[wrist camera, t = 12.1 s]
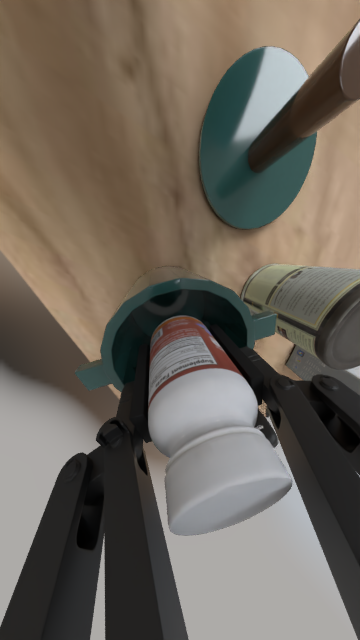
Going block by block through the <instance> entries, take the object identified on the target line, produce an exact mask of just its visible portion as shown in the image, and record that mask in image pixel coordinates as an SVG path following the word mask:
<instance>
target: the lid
mask: <svg viewBox="0 0 360 640" xmlns="http://www.w3.org/2000/svg"><path fill="white" fill-rule="evenodd" d="M359 99H360V19H359V20H358V21H357V23H356V24H355V25H354V26H353V27H352V28H351V29H350V31H349V32H348V33H347V34H346V35H345V36H344V37H343V38H342V40H341V41H340V42H339V43H338V44H337V45H336V46H335V48H334V49H333V50H332V51H331V52H330V53H329V54H328V56H327V57H326V58H325V59H324V60H323V61H322V62H321V64H320V65H319V66H318V67H317V68H316V69H315V70H314V72H313V73H312V74H311V75H310V76H308V74H307V72H306V70H305V69H304V67H303V65H302V64H301V63H300V62H299V60H298V59H297V58H296V57H295V56H293V55H292V54H291V53H290V52H288V51H286V50H284V49H282V48H278V47H274V46H264V47H260V48H256V49H253V50H252V51H250V52H248V53H246V54H244V55H243V56H242V57H241V58H239V59H238V60H237V61H236V62H235V63H234V64H233V65H232V66H231V67H230V68H229V69H228V70H227V72H226V73H225V74H224V76H223V77H222V79H221V80H220V82H219V84H218V85H217V87H216V89H215V91H214V93H213V95H212V98H211V100H210V103H209V105H208V108H207V111H206V114H205V117H204V121H203V125H202V130H201V135H200V144H199V168H200V176H201V182H202V185H203V189H204V192H205V195H206V198H207V200H208V202H209V204H210V206H211V207H212V209H213V210H214V212H215V213H216V214H217V215H218V217H219V218H220V219H221V220H223V221H224V222H225V223H227V224H228V225H230V226H232V227H235V228H238V229H255V228H259V227H262V226H264V225H266V224H268V223H270V222H272V221H273V220H275V219H276V218H277V217H279V216H280V215H281V214H282V213H283V212H284V211H285V210H286V209H287V208H288V207H289V205H290V204H291V203H292V202H293V200H294V199H295V197H296V196H297V194H298V193H299V191H300V189H301V187H302V185H303V183H304V181H305V179H306V176H307V174H308V171H309V168H310V166H311V162H312V158H313V155H314V150H315V145H316V137H317V131H318V130H320V129H321V128H322V127H324V126H325V125H326V124H328V123H329V122H330V121H332V120H333V119H334V118H335V117H337V116H338V115H339V114H341V113H342V112H343V111H345V110H346V109H347V108H349V107H350V106H351V105H353V104H354V103H355V102H357V101H358V100H359Z"/></svg>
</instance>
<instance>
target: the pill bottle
mask: <svg viewBox="0 0 360 640" xmlns="http://www.w3.org/2000/svg"><path fill="white" fill-rule="evenodd" d="M257 417H258V403H257V400H256V396H255V394H254V392H253V390H252V389H251V387H250V386H249V384H248V383H247V381H246V380H245V378H244V377H243V376H242V374H241V373H240V371H239V370H238V369H237V368H236V366H235V365H234V364H233V362H232V361H231V360H230V358H229V357H228V356H227V354H226V353H225V352H224V350H223V349H222V347H221V346H220V345H219V344H218V342H217V341H216V340H215V338H214V337H213V336H212V334H211V333H210V332H209V330H208V329H207V328H206V326H205V325H204V324H203V323H202V322H201V321H199V320H198V319H196V318H194V317H191V316H186V315H180V316H175V317H171V318H169V319H167V320H165V321H163V322H162V323H161V324H160V325H159V326H158V327H157V328H156V329H155V331H154V332H153V335H152V338H151V343H150V365H149V400H148V428H149V433H150V437H151V439H152V441H153V443H154V445H155V446H156V448H157V449H158V450H159V451H160V452H161V453H162V454H164V455H166V456H167V457H169V458H170V459H169V461H168V463H167V465H166V476H165V489H166V502H167V515H168V525H169V529H170V531H171V532H172V533H174V534H176V535H184V536H188V535H199V534H204V533H208V532H212V531H216V530H219V529H223V528H226V527H229V526H232V525H235V524H237V523H239V522H242V521H244V520H247V519H249V518H250V517H252V516H254V515H256V514H258V513H260V512H262V511H264V510H265V509H267V508H269V507H270V506H272V505H273V504H275V503H276V502H277V501H279V500H280V499H281V498H282V497H283V496H285V495H286V494H287V492H288V491H289V490H290V489H291V487H292V479H291V477H290V475H289V473H288V472H287V470H286V468H285V467H284V465H283V463H282V461H281V460H280V458H279V457H278V455H277V453H276V451H275V450H274V448H273V446H272V445H271V443H270V442H269V440H267V439H266V438H265V436H264V434H263V433H262V432H261V431H260V430H258V429H256V428H254V426H255V424H256V421H257Z"/></svg>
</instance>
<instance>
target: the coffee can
mask: <svg viewBox="0 0 360 640" xmlns="http://www.w3.org/2000/svg"><path fill="white" fill-rule="evenodd" d="M241 300H242V301H243V302H244V303H245V304H246V305H247V306H248V307H249V310H250V313H251V315H255V314H258V313H262V312H265V311H269V310H270V311H272V312H274V313H276V314H277V317H276V326H275V332H276V333H278V334H280V335H281V336H283V337H285V338H286V339H288V340H289V341H291V342H293V343H294V344H296V345H297V346H299V347H301V348H302V349H304V350H306V351H307V352H309V353H310V354H312V355H314V356H315V357H317V358H318V359H320V360H321V361H322V362H323V363H324V364H326V365H327V366H328V367H330V368H332V369H336V370H348V369H352V368H355V367H358V366H360V270H359V269H344V268H329V267H314V266H297V265H282V264H269V265H266V266H263V267H261V268H260V269H258V270H257V271H256V272H254V273H253V274H252V276H251V277H250V278H249V279H248V281H247V282H246V284H245V286H244V289H243V291H242V295H241Z"/></svg>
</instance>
